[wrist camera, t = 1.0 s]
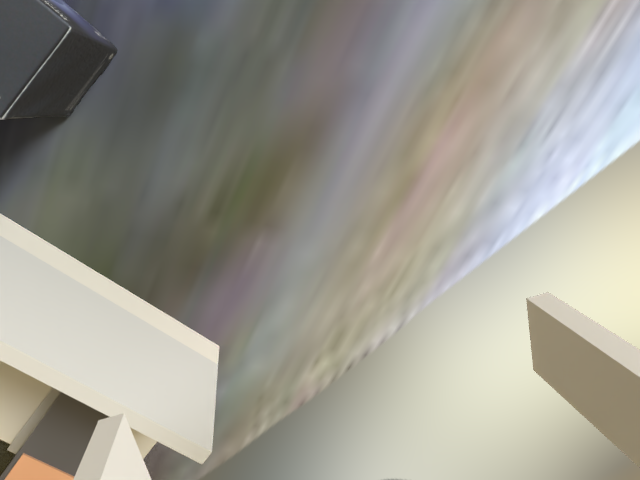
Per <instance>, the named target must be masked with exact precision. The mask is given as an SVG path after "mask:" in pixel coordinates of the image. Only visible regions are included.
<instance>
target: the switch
mask: <svg viewBox="0 0 640 480" xmlns="http://www.w3.org/2000/svg"><path fill="white" fill-rule="evenodd" d="M108 417H109V416H107V415H105V414H103V413H101V412H99V411H97V410H96V409H94V408H92V407H90V406H88V405H86V404H84V403H82V402H80V401H78V400H76V399H74V398H72V397H70V396H68V395H66V394H64V393H63V392H60V393H59V395H58V396H57V397H56V399H55V400H54V402H53V403H52V404H51V406H50V407H49V409H48V410H47V411H46V413H45V414H44V415H43V417H42V418H41V420H40V421H39V422H38V424H37V425H36V427H35V428H34V429H33V431H32V432H31V433H30V435H29V436H28V438H27V439H26V440H25V442H24V443H23V445H22V446H21V447H20V449H19V450H18V451H17V453H16V454H15V456H14V457H13V458H12V460H11V461H10V463H9V464H8V465H7V467H6V468H5V469H4V471H3V472H2V474H1V476H0V480H73V479H74V477H75V474H76V472H77V470H78V467H79V465H80V463H81V460H82V458H83V456H84V453H85V451H86V449H87V446H88V444H89V442H90V439H91V437H92V435H93V432H94V430H95V428H96V425H97V423H98V421H99V420H101V419H105V418H108Z"/></svg>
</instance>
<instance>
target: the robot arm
mask: <svg viewBox="0 0 640 480" xmlns="http://www.w3.org/2000/svg"><path fill="white" fill-rule="evenodd" d="M526 300H527V310H528V320H529V330H530V340H531V350H532V359H533V369H534V371H535V372H536V373H537V374H538V375H539V376H541V377H542V378H543V379H544V380H545V381H546V382H547V383H548V384H549V385H550V386H551V387H552V388H554V389H555V390H556V391H557V392H558V393H559V394H560V395H561V396H562V397H563V398H565V399H566V400H567V401H568V402H569V403H570V404H571V405H572V406H573V407H574V408H575V409H576V410H578V411H579V412H580V413H581V414H582V415H583V416H584V417H585V418H586V419H587V420H588V421H589V422H590V423H592V424H593V425H594V426H595V427H596V428H597V429H598V430H599V431H600V432H601V433H602V434H604V435H605V436H606V437H607V438H608V439H609V440H610V441H611V442H612V443H613V444H615V445H616V446H617V447H618V448H619V449H620V450H621V451H622V452H623V453H624V454H625V455H626V456H628V458H630V459H631V460H632V461H633V462H634V463H635V464H636V465H637V466H638V467H639V468H640V350H639V349H638V348H636V347H635V346H633V345H631V344H630V343H628V342H627V341H625V340H623V339H622V338H620V337H619V336H617V335H616V334H614V333H612V332H611V331H609V330H607V329H606V328H604V327H603V326H601V325H600V324H598V323H596V322H595V321H593V320H592V319H590V318H588V317H587V316H585V315H584V314H582V313H580V312H579V311H577V310H576V309H574V308H572V307H571V306H569V305H567V304H566V303H565V302H563V301H561V300H560V299H558V298H557V297H555V296H553V295H552V294H550V293H549V292H547V293H543V294H540V295H537V296H533V297H529V298H527V299H526ZM73 480H151V478H150V475H149V473H148V470H147V468H146V465H145V463H144V461H143V458H142V456H141V453H140V451H139V448H138V446H137V443H136V441H135V439H134V436H133V434H132V431H131V429H130V426H129V424H128V422H127V419H126V417H125V414H124V413H122V414H119V415H115V416H112V417H108V418H105V419H101V420H99V421H98V423H97V425H96V428H95V430H94V432H93V435H92V437H91V439H90V442H89V444H88V446H87V449H86V451H85V453H84V456H83V458H82V460H81V463H80V465H79V467H78V470H77V472H76V474H75V477H74V479H73Z"/></svg>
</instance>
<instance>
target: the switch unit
mask: <svg viewBox="0 0 640 480" xmlns="http://www.w3.org/2000/svg"><path fill="white" fill-rule="evenodd" d="M218 357H219V346H218V345H217V344H215V343H213V342H212V341H210V340H208V339H207V338H205V337H203V336H202V335H200V334H198V333H197V332H195V331H193V330H192V329H190V328H189V327H187V326H185V325H184V324H182V323H180V322H179V321H177V320H175V319H174V318H172V317H170V316H169V315H167V314H165V313H164V312H162V311H160V310H159V309H157V308H156V307H154V306H152V305H151V304H149V303H147V302H146V301H144V300H142V299H141V298H139V297H137V296H136V295H134V294H132V293H131V292H129V291H127V290H126V289H124V288H122V287H121V286H119V285H118V284H116V283H114V282H113V281H111V280H109V279H108V278H106V277H104V276H103V275H101V274H99V273H98V272H96V271H94V270H93V269H91V268H89V267H88V266H86V265H85V264H83V263H81V262H80V261H78V260H76V259H75V258H73V257H71V256H70V255H68V254H66V253H65V252H63V251H61V250H60V249H58V248H56V247H55V246H53V245H52V244H50V243H48V242H47V241H45V240H43V239H42V238H40V237H38V236H37V235H35V234H33V233H32V232H30V231H28V230H27V229H25V228H23V227H22V226H20V225H18V224H17V223H15V222H14V221H12V220H10V219H9V218H7V217H5V216H4V215H2V214H0V440H3V441H5V442H7V443H9V444H10V446H9V447H8V449H7V450H8V451H10V452H12V453H14V454H16V453H17V451H18V450H19V449H20V447H21V446H22V445H23V443H24V442H25V440H26V439H27V438H28V436H29V435H30V433H31V432H32V431H33V429H34V428H35V427H36V425H37V424H38V422H39V421H40V420H41V418H42V417H43V415H44V414H45V413H46V411H47V410H48V409H49V407H50V406H51V404H52V403H53V402H54V400H55V399H56V397H57V396H58V395H59V393H60V392H63V393H64V394H66V395H68V396H70V397H72V398H74V399H76V400H78V401H80V402H82V403H84V404H86V405H88V406H90V407H92V408H94V409H96V410H97V411H99V412H101V413H103V414H105V415H107V416H109V417H112V416H115V415H119V414H122V413H124V414H125V417H126V419H127V422H128V424H129V426H130V429H131V431H132V434H133V436H134V439H135V441H136V443H137V446H138V448H139V451H140V453H141V456H142V458H143V459H144V457H145V456H146V455H147V454H148V452H149V451H150V450H151V448H152V447H153V446H154V445H155V443H156V442H157V441H158V442H160V443H162V444H163V445H165V446H167V447H169V448H171V449H173V450H175V451H177V452H179V453H181V454H183V455H185V456H187V457H189V458H191V459H193V460H195V461H196V462H198V463H200V464H203V462H204V461H205V460H206V459H207V458H208V456H209V455H210V454H211V453H212V445H213V430H214V416H215V401H216V387H217V372H218Z"/></svg>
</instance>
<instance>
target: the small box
mask: <svg viewBox="0 0 640 480" xmlns="http://www.w3.org/2000/svg"><path fill="white" fill-rule="evenodd" d="M116 53H117V48H116V47H115V46H114V45H113V44H112V43H111V42H109V41H108V40H107V39H106V38H105V37H104V36H103V35H102V34H101V33H100V32H99V31H97V30H96V29H95V28H94V27H93V26H92V25H91V24H89V23H88V22H87V21H86V20H85V19H84V18H82V17H81V16H80V15H79V14H78V13H77V12H76V11H74V10H73V9H72V8H71V7H70V6H68V5H67V4H66V3H65V2H64V1H63V0H0V120H1V119H2V120H6V119H11V118H31V117H45V116H70V114H71V113H72V112H73V111H74V109H75V107H76V105H77V103H78V102H80V101H81V98H82V97H83V96H84V94H85V93H86V92H87V91H88V90H89V88H90V87H91V85H92V84H93V83H94V82H95V81H96V79H97V78H98V76H99V75H100V74H101V73H102V72H104V71H105V69H106V68H107V66H108V65H109V63H110V61H111V60H112V58H113V57H114V55H115V54H116Z"/></svg>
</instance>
